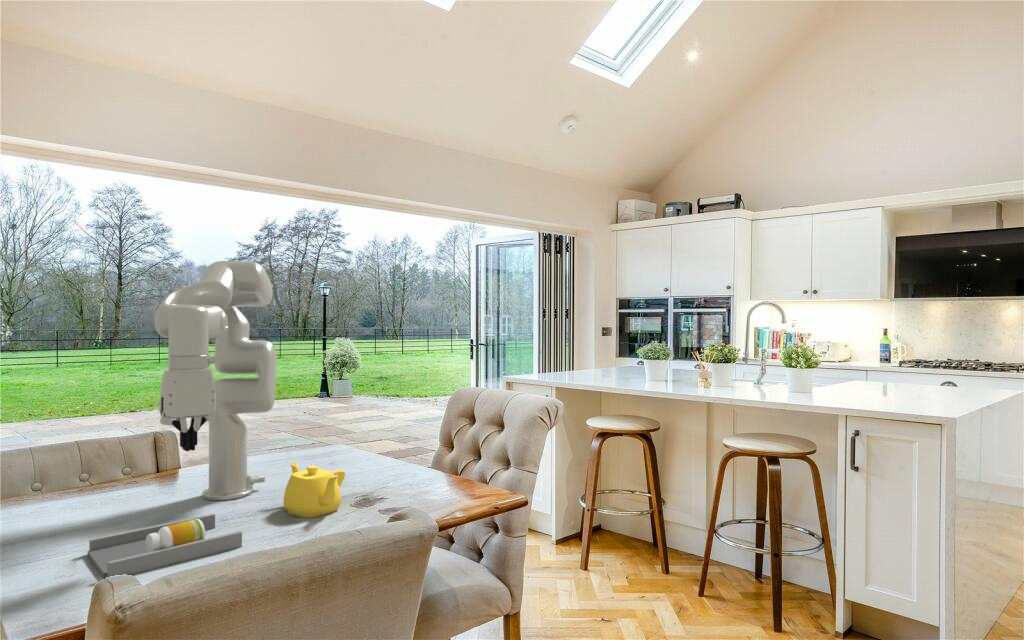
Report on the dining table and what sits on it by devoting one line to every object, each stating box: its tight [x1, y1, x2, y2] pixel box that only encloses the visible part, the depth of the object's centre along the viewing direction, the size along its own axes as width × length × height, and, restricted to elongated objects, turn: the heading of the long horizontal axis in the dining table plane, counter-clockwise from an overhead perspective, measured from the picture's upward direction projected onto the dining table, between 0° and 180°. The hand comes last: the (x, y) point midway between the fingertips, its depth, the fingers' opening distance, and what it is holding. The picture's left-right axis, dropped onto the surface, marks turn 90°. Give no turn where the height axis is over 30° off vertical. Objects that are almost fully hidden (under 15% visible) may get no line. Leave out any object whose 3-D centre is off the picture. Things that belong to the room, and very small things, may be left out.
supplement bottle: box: [146, 519, 206, 552], centre depth 124 cm, size 5×5×10 cm
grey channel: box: [87, 513, 243, 579], centre depth 127 cm, size 24×17×3 cm
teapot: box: [283, 462, 346, 518], centre depth 156 cm, size 22×16×11 cm
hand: (188, 449), depth 130 cm, fingers closed
